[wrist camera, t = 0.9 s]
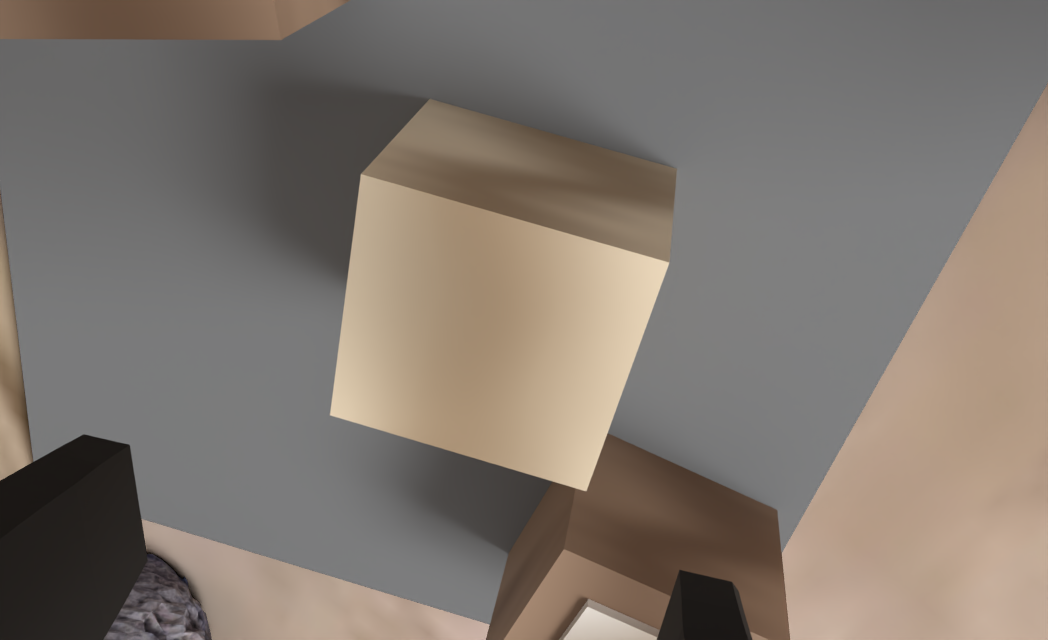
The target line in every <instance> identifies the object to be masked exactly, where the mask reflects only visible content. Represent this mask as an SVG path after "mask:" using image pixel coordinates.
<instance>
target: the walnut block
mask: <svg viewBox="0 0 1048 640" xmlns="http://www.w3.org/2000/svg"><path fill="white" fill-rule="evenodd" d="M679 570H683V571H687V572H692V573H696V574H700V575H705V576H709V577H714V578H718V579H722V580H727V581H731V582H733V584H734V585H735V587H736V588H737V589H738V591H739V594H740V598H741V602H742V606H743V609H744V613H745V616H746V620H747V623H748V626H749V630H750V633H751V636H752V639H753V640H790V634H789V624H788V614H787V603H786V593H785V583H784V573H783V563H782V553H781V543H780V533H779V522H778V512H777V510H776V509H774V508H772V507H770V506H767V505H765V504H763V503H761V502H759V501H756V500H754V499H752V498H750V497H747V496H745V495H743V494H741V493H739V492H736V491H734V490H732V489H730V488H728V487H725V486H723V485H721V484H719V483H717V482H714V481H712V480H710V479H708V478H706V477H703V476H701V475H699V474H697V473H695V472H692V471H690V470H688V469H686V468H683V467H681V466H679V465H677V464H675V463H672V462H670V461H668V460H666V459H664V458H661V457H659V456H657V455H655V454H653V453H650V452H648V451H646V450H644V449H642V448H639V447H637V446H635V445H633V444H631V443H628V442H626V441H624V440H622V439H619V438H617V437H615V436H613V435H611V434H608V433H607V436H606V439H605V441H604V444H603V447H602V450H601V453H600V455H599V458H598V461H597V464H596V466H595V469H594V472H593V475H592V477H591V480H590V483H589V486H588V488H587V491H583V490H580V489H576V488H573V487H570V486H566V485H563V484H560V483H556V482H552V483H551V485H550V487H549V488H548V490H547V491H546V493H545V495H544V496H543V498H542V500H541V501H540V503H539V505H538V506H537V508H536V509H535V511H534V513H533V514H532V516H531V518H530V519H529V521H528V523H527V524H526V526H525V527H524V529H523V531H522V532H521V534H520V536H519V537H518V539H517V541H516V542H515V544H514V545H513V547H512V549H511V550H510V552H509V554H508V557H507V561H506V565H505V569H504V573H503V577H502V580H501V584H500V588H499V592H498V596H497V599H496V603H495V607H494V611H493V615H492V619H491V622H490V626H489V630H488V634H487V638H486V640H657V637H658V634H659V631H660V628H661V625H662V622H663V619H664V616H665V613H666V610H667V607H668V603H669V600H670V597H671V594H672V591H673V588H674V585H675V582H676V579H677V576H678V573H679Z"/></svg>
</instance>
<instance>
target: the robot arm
mask: <svg viewBox="0 0 1048 640" xmlns="http://www.w3.org/2000/svg"><path fill="white" fill-rule="evenodd" d="M147 561H148V559H147V553H146V546H145V540H144V533H143V527H142V520H141V514H140V507H139V501H138V494H137V488H136V481H135V475H134V468H133V462H132V456H131V449H130V445H129V444H124V443H120V442H115V441H111V440H107V439H102V438H98V437H93V436H89V435H85V434H83V435H82V436H80V437H78V438H76V439H74V440H72V441H70V442H68V443H66V444H65V445H63V446H61V447H59V448H57V449H56V450H54V451H52V452H50V453H48V454H47V455H45V456H43V457H41V458H40V459H38V460H36V461H34V462H32V463H31V464H29V465H27V466H25V467H24V468H22V469H20V470H18V471H17V472H15V473H13V474H12V475H10V476H8V477H6V478H5V479H3V480H1V481H0V640H103V639H104V638H105V636H106V635H107V633H108V631H109V629H110V628H111V626H112V624H113V622H114V621H115V619H116V617H117V616H118V614H119V612H120V610H121V609H122V607H123V605H124V603H125V602H126V600H127V598H128V596H129V594H130V592H131V590H132V589H133V587H134V585H135V583H136V581H137V579H138V577H139V576H140V574H141V572H142V570H143V568H144V566H145V564H146V563H147ZM657 640H753V639H752V636H751V633H750V630H749V626H748V623H747V620H746V616H745V613H744V609H743V606H742V602H741V598H740V594H739V591H738V589H737V588H736V587H735V585H734V584H733V582H731V581H727V580H722V579H718V578H714V577H709V576H705V575H700V574H696V573H692V572H687V571H683V570H679V573H678V576H677V579H676V582H675V585H674V588H673V591H672V594H671V597H670V600H669V603H668V607H667V610H666V613H665V616H664V619H663V622H662V625H661V628H660V631H659V634H658V637H657Z"/></svg>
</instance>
